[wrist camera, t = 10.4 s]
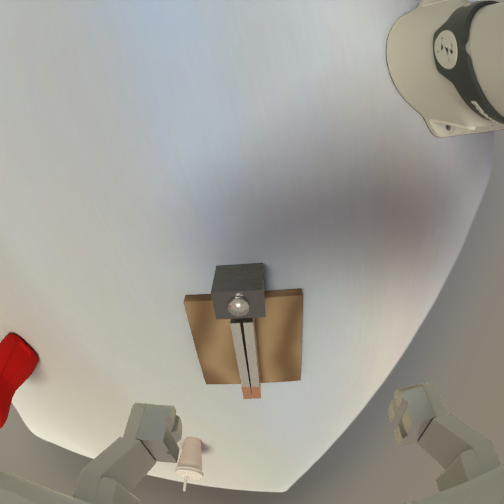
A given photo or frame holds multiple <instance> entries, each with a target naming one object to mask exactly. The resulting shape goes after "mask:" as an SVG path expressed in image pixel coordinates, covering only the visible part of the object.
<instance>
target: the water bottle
mask: <svg viewBox="0 0 504 504" xmlns="http://www.w3.org/2000/svg"><path fill="white" fill-rule="evenodd" d="M37 361H38V358H37V356H36V354H35V352H34V351H33V350H32V349H31V348H30V347H29V346H28V345H27V344H26V343H25V342H24V341H23V340H22V339H21V338H20V337H19V336H17V335H14V334H9V335H7V336H5V338H4V339H3V340H2V341H1V343H0V428H1V427H3V425H4V423H5V421H6V420H7V417H8V413H9V409H10V405H11V401H12V397H13V395H14V393H15V391H16V390H17V389H18V388H19V387H20V386H21V385H22V384H23V383H24V382H25V380H26V379H27V378H28V377H29V376H30V375H31V374H32V372H33V371H34V369H35V368H36V365H37Z"/></svg>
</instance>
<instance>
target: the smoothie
mask: <svg viewBox="0 0 504 504" xmlns="http://www.w3.org/2000/svg"><path fill="white" fill-rule="evenodd" d="M175 474H176V475H177V476H179V477H182V478H185V479H184V486H183V491H186V483H187V479H192V480H197V479H201V478H203V472H202V456H201V440H199V439H197V438H194V437H188V438H186V440H185V443H184V446H183V450H182V453H181V456H180V459H179V462H178V466H177V467H176V468H175Z"/></svg>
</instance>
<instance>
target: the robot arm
mask: <svg viewBox="0 0 504 504" xmlns="http://www.w3.org/2000/svg"><path fill="white" fill-rule="evenodd" d="M386 54H387V63H388V67H389V71H390V74H391V77H392V79H393V82H394V84H395V86H396V87H397V89H398V91H399V92H400V94H401V95H402V96H403V98H404V99H405V100H406V101H407V102H408V103H409V104H410V105H411V106H412V107H413V108H414V109H415V110H417V111H418V112H419V113H420V114H421V115H422V116H423V117H424V119H425V121H426V123H427V125H428V127H429V129H430V131H431V132H432V134H433V135H435V136H437V137H449V136H456V135H463V134H471V133H479V132H487V131H496V130H504V2H496V1H476V2H472V3H471V2H469V1H467V0H421V1H420V3H419V4H418V6H417V8H416V9H415V10H413V11H412V12H409V13H407V14H405V15H404V16H402V17H401V18H400V19H399V20H397V22H396V23H395V24H394V25H393V27H392V29H391V31H390V33H389V36H388V40H387V48H386ZM446 125H448V129H446ZM394 398H395V399H394V400H393V401H391V403H390V406H389V419H390V422H391V424H392V425H393V426H395V427H396V429H395V432H394V436H395V439H396V442H397V445H398V447H399V446H402V445H407V444H412V443H416V442H417V443H418V444H419V445H420V446H421V447H422V448H423V449H424V450H425V451H426V452H427V453H428V454H429V455H430V456H431V457H432V458H434V459H435V460H436V461H437V462H438V463H439V464H440V465H441V466H442V467H443V468H444V469H445V471H444V472H443V473H442V474H441V475H440V476H439V477H438V478H437V480H436V482H437V486H438V489H439V493H436V494H433V495H430V496H428V497H425V498H422V499H418V500H415V501H412V502H409V503H405V504H504V464H502V465H501V463H500V461H499V459H498V456H497V454H496V451H495V449H494V447H493V444H492V442H491V440H490V439H488V438H487V437H486V436H484V435H483V434H481V433H480V432H478V431H477V430H475V429H474V428H472V427H471V426H470V425H468V424H467V423H465V422H463V421H462V420H461V419H459V418H458V417H456V416H455V415H453V414H452V413H449V414H448V413H447V410H446V408H445V406H444V403H443V401H442V399H441V397H440V395H439V393H438V391H437V389H436V386H435V384H434V383H433V382H428V383H424V384H419V385H415V386H410V387H406V388H402V389H398V390H396V391H395V393H394ZM181 436H182V423H181V420H180V417H178V416H177V415H176V409H175V407H174V406H167V405H153V404H143V403H135V404H134V405H133V407H132V410H131V413H130V416H129V419H128V423H127V426H126V429H125V433H124V436H123V437H119V438H118V439H117V440H116V441H115V442H114V443H112V444H111V445H110V446H109V447H108V448H107V449H105V450H104V451H103V452H102V453H101V454H100V455H98V456H97V457H96V458H95V459H94V460H92V461H91V462H90V463H89V464H88V465H87V466H85V467H84V468H83V469H82V470H81V472H80V475H79V479H78V482H77V485H76V489H75V491H74V495H73V497H70V496H68V495H65V494H62V493H59V492H56V491H54V490H51V489H48V488H46V487H44V486H41V485H38V484H36V483H34V482H32V481H29V480H27V479H25V478H23V477H20V476H18V475H16V474H14V473H12V472H9V471H3V472H1V473H0V504H140V503H141V502H140V501H139V499H137V498H136V497H135V496H134V495H132V494H131V493H130V492H131V490H132V489H133V488H134V487H135V486H136V485H137V484H138V482H140V480H141V479H142V478H143V477H144V476H145V475H146V474H147V473H148V471H149V470H150V469H151V468H152V467H153V466H154V465H155V463H156V461H160V462H172V463H177V460H178V454H179V447H178V445H177V442H178V441H179V440H180V439H181Z"/></svg>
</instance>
